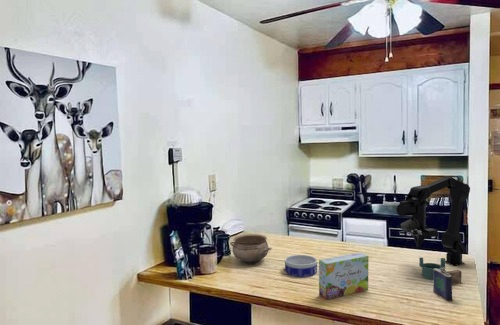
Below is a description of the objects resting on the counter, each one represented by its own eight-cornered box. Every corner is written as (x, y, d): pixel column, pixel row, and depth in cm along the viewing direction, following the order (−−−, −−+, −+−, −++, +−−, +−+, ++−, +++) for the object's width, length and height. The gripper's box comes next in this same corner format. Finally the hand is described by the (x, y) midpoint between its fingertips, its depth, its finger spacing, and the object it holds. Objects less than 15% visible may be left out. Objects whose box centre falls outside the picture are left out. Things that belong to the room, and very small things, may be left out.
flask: (431, 291, 156) (431, 263, 155) (438, 290, 157) (439, 263, 156) (447, 301, 146) (447, 272, 145) (455, 301, 147) (455, 271, 146)
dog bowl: (293, 264, 194) (292, 252, 194) (321, 269, 186) (321, 256, 186) (279, 274, 181) (279, 262, 181) (310, 279, 173) (309, 266, 173)
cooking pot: (220, 263, 199) (219, 240, 198) (241, 253, 215) (240, 231, 214) (262, 271, 186) (261, 246, 185) (280, 259, 201) (279, 236, 201)
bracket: (446, 277, 170) (446, 258, 169) (434, 281, 165) (434, 262, 165) (429, 271, 177) (429, 253, 177) (416, 275, 173) (416, 256, 172)
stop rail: (457, 280, 165) (457, 269, 165) (461, 282, 164) (461, 271, 163) (435, 285, 162) (435, 273, 162) (438, 286, 160) (438, 275, 160)
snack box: (326, 300, 151) (325, 263, 150) (318, 295, 156) (317, 259, 155) (369, 290, 159) (368, 254, 158) (360, 285, 164) (359, 251, 163)
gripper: (390, 212, 184) (390, 244, 185) (418, 220, 166) (418, 255, 167) (410, 210, 187) (410, 241, 188) (439, 217, 169) (439, 252, 171)
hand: (418, 247), depth 179 cm, fingers closed
